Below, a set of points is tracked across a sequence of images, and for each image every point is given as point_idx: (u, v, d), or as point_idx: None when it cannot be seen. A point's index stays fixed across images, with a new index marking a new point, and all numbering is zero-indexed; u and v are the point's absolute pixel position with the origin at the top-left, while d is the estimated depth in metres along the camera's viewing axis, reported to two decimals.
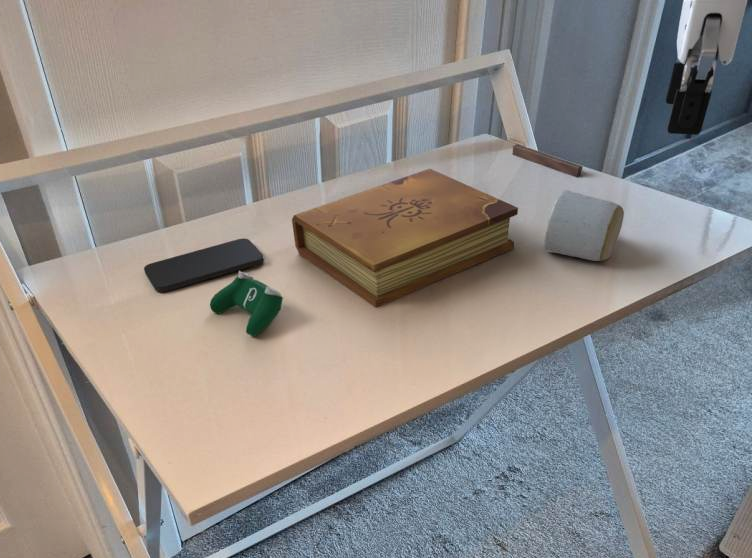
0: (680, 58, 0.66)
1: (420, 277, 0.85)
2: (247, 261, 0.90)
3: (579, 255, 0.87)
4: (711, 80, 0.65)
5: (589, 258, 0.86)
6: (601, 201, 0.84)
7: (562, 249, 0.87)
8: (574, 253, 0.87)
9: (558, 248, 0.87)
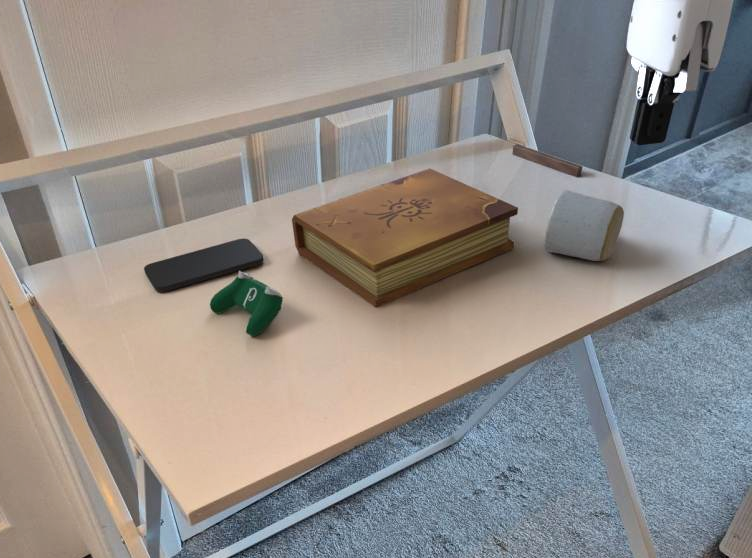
0: (669, 70, 0.63)
1: (420, 277, 0.85)
2: (247, 261, 0.90)
3: (579, 255, 0.87)
4: (678, 95, 0.67)
5: (589, 258, 0.86)
6: (601, 201, 0.84)
7: (562, 249, 0.87)
8: (574, 253, 0.87)
9: (558, 248, 0.87)
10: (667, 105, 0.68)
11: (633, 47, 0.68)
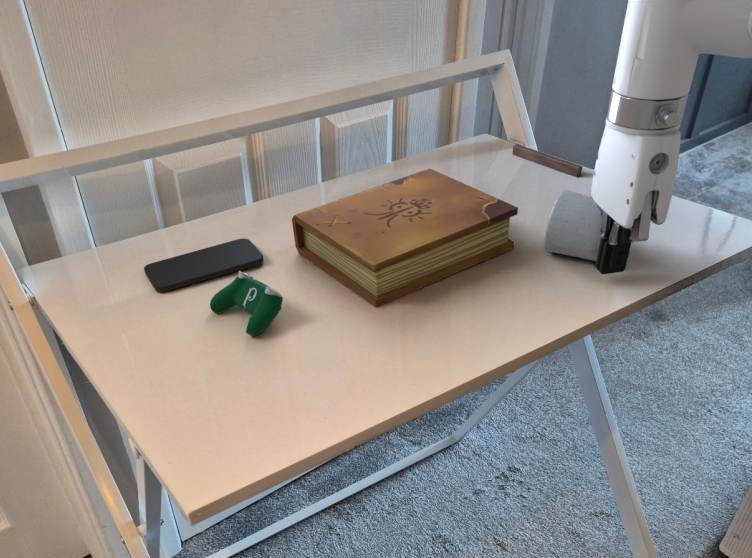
0: (625, 225, 0.75)
1: (420, 277, 0.85)
2: (247, 261, 0.90)
3: (579, 255, 0.87)
4: None
5: (589, 258, 0.86)
6: None
7: (562, 249, 0.87)
8: (574, 253, 0.87)
9: (558, 248, 0.87)
10: (625, 245, 0.80)
11: (596, 196, 0.79)
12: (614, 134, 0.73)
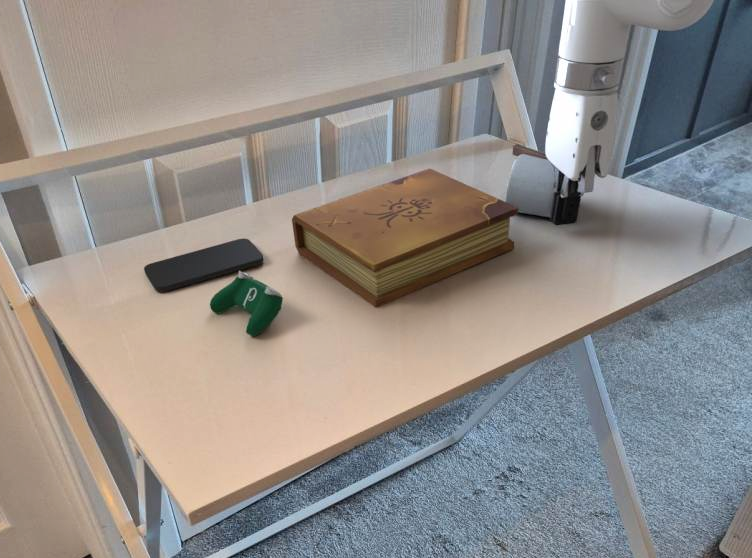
0: (572, 177, 0.84)
1: (420, 277, 0.85)
2: (247, 261, 0.90)
3: (536, 212, 0.96)
4: None
5: (545, 215, 0.96)
6: None
7: (521, 207, 0.96)
8: (532, 210, 0.96)
9: (518, 206, 0.97)
10: (575, 198, 0.89)
11: (549, 154, 0.89)
12: (562, 96, 0.82)
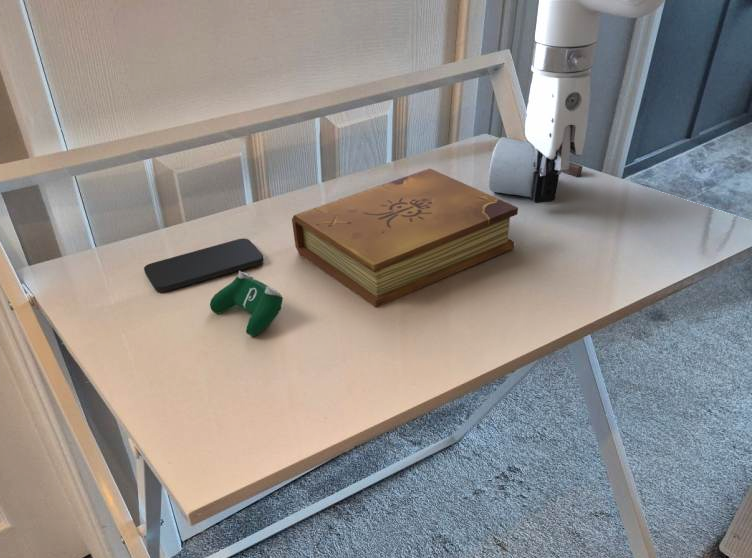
0: (549, 156, 0.90)
1: (420, 277, 0.85)
2: (247, 261, 0.90)
3: (518, 192, 1.02)
4: None
5: (526, 194, 1.01)
6: None
7: (503, 188, 1.02)
8: (513, 190, 1.02)
9: (500, 187, 1.02)
10: (553, 176, 0.95)
11: (528, 135, 0.94)
12: (539, 79, 0.88)
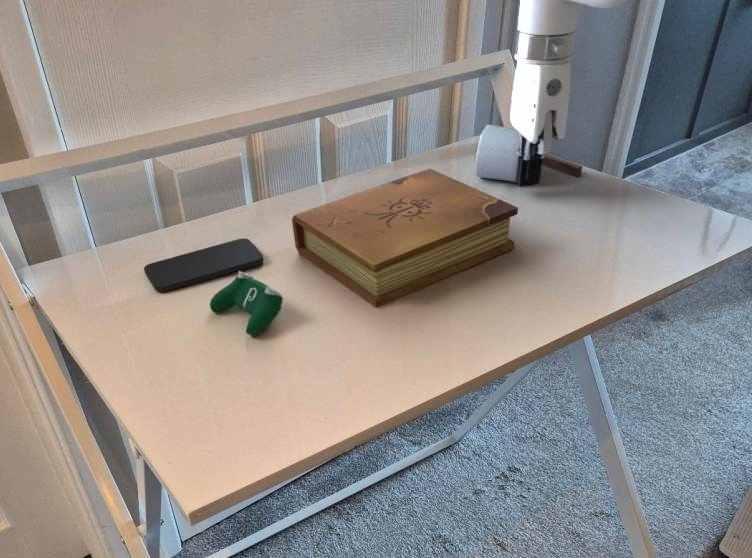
0: (532, 140, 0.94)
1: (420, 277, 0.85)
2: (247, 261, 0.90)
3: (504, 177, 1.06)
4: (543, 154, 0.98)
5: (512, 179, 1.06)
6: None
7: (490, 173, 1.06)
8: (500, 176, 1.06)
9: (487, 172, 1.06)
10: (537, 160, 0.99)
11: (513, 121, 0.99)
12: (522, 67, 0.92)
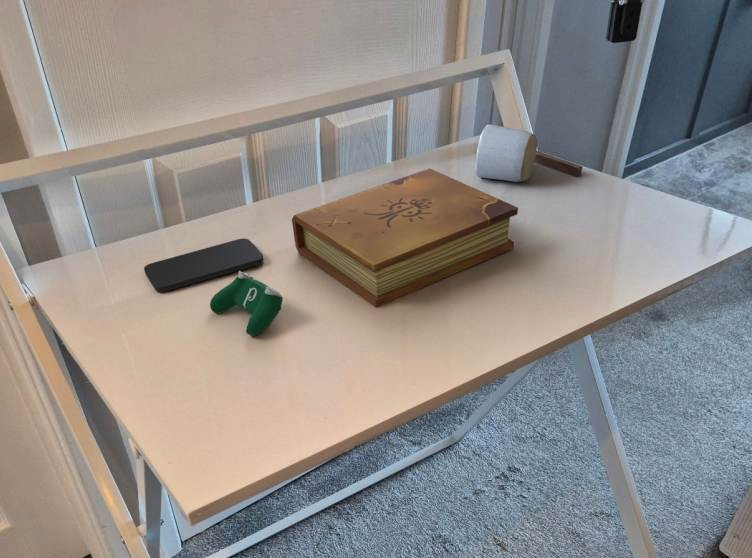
0: None
1: (420, 277, 0.85)
2: (247, 261, 0.90)
3: (504, 177, 1.06)
4: None
5: (512, 179, 1.06)
6: (518, 131, 1.03)
7: (490, 173, 1.06)
8: (500, 175, 1.06)
9: (486, 172, 1.06)
10: (636, 5, 0.80)
11: None
12: None
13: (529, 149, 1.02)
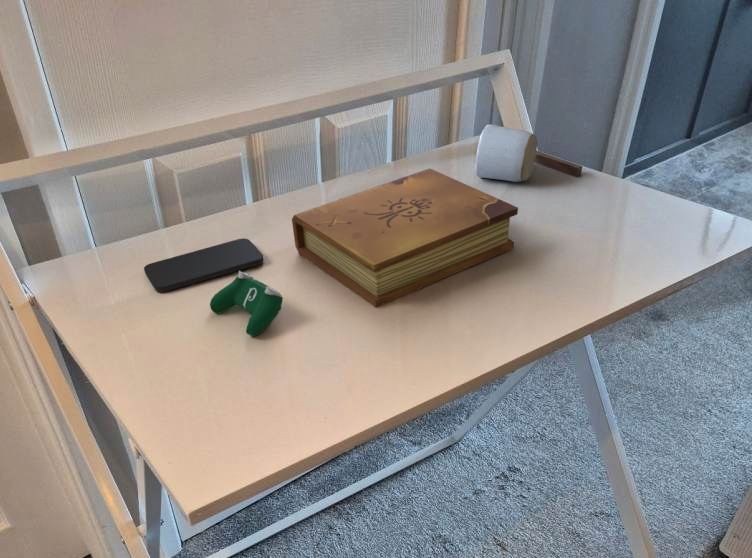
0: None
1: (420, 277, 0.85)
2: (247, 261, 0.90)
3: (504, 177, 1.06)
4: None
5: (512, 179, 1.06)
6: (518, 131, 1.03)
7: (490, 173, 1.06)
8: (500, 175, 1.06)
9: (486, 172, 1.06)
10: None
11: None
12: None
13: (529, 149, 1.02)
